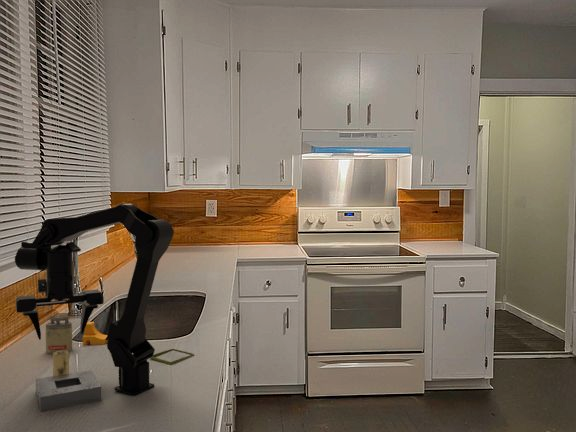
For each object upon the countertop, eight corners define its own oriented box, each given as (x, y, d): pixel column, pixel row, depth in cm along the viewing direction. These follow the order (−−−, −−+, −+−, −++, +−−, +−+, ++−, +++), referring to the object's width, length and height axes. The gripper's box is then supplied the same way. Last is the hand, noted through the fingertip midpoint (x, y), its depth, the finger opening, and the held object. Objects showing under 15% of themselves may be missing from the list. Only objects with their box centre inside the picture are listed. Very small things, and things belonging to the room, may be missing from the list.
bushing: (72, 380, 126) (72, 351, 125) (59, 385, 123) (59, 355, 122) (62, 378, 127) (62, 349, 127) (50, 382, 124) (49, 353, 124)
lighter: (44, 354, 146) (43, 318, 146) (48, 350, 150) (47, 315, 149) (71, 353, 147) (70, 317, 147) (74, 349, 151) (73, 314, 150)
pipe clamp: (82, 347, 153) (82, 325, 153) (87, 343, 157) (87, 322, 157) (124, 347, 154) (124, 325, 153) (128, 342, 158) (128, 321, 158)
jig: (101, 400, 114) (101, 386, 114) (40, 411, 108) (40, 397, 108) (91, 382, 124) (91, 370, 124) (35, 392, 118) (35, 379, 118)
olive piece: (173, 355, 147) (173, 348, 147) (195, 361, 142) (195, 353, 142) (148, 363, 140) (148, 356, 140) (170, 370, 135) (170, 362, 134)
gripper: (95, 264, 135) (96, 324, 136) (13, 269, 126) (15, 333, 127) (103, 269, 126) (104, 334, 126) (16, 276, 116) (17, 345, 117)
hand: (61, 336), depth 124 cm, fingers open, 9 cm apart
